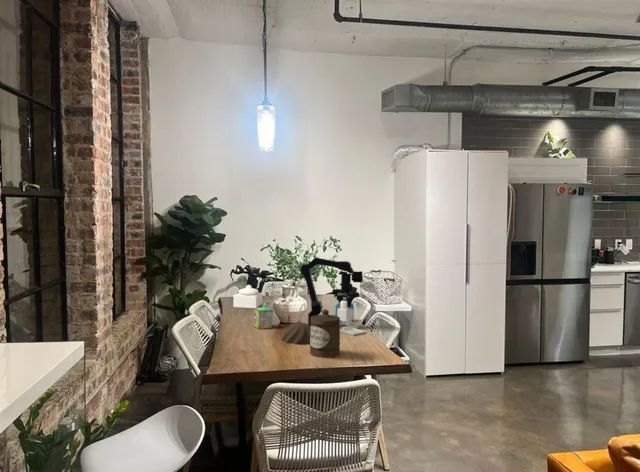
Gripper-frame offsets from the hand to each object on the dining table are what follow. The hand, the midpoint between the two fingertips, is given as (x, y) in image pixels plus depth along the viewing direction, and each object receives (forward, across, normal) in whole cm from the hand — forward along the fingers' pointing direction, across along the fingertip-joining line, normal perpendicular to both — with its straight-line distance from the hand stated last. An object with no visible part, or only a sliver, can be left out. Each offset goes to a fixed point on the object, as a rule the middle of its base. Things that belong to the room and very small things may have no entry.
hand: (345, 307), depth 302 cm
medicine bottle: (+8, 0, 0) cm, 8 cm away
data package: (+13, +15, -14) cm, 24 cm away
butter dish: (+14, +98, +6) cm, 100 cm away
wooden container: (+13, -35, +48) cm, 61 cm away
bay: (+13, +1, 0) cm, 13 cm away
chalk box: (+13, +31, +39) cm, 52 cm away
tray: (+13, -12, +5) cm, 18 cm away
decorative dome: (+14, -6, +41) cm, 44 cm away
